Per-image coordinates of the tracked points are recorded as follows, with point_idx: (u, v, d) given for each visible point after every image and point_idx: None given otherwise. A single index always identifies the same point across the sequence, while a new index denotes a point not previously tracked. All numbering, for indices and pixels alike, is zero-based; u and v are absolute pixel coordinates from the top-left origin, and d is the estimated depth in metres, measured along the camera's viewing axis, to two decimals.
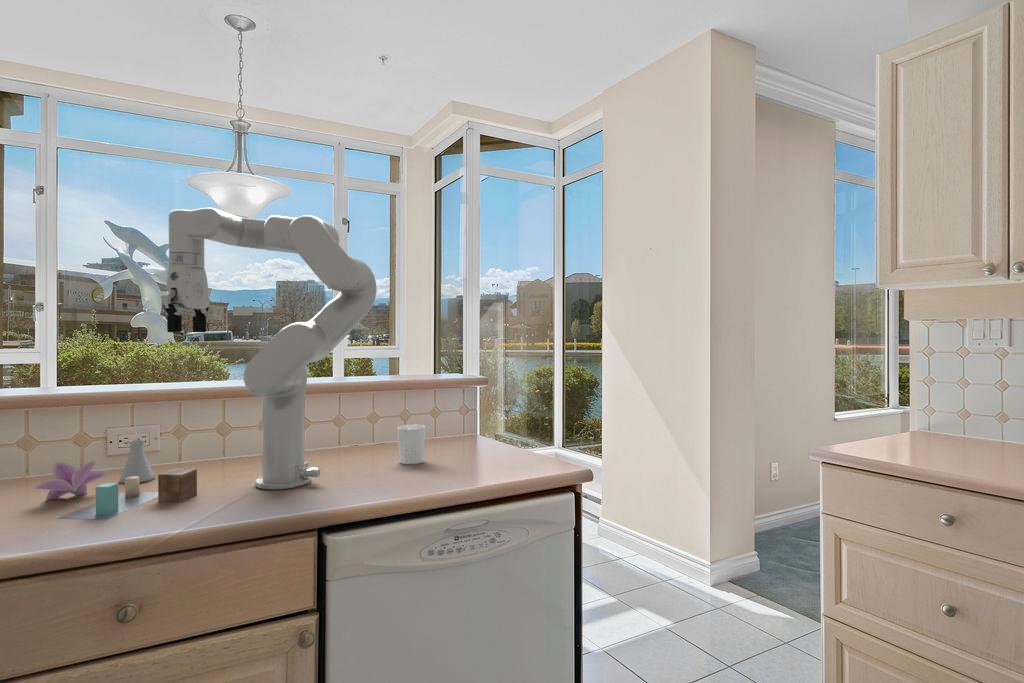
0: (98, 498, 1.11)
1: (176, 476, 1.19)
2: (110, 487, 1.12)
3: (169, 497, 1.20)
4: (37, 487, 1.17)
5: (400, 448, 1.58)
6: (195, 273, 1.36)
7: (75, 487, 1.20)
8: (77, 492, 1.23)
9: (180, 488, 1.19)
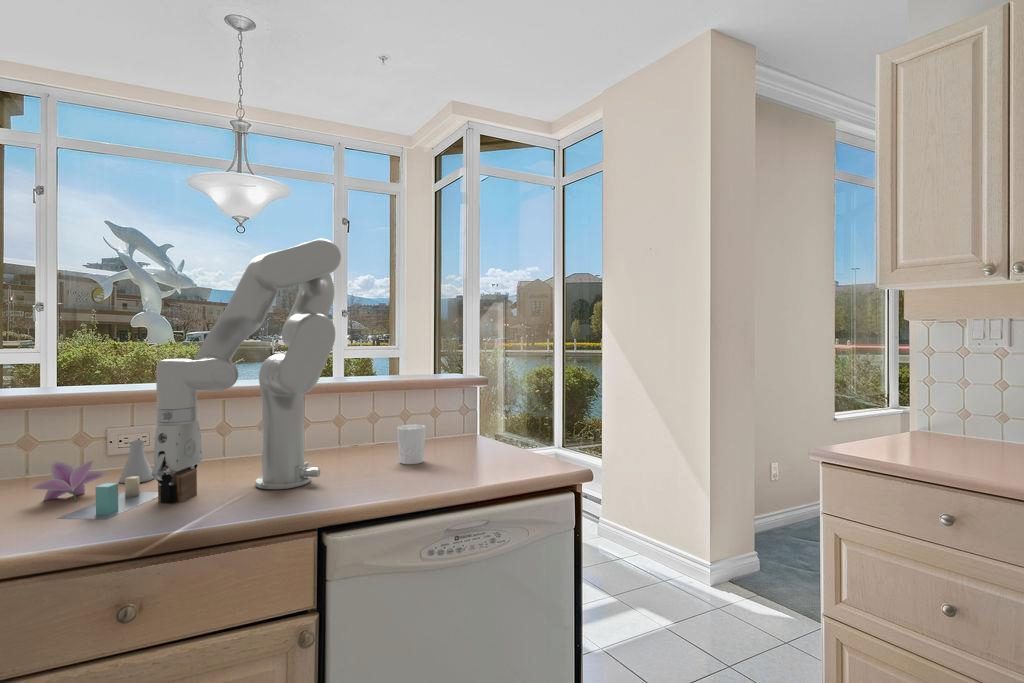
0: (98, 498, 1.11)
1: (176, 476, 1.19)
2: (110, 487, 1.12)
3: None
4: (35, 487, 1.17)
5: (400, 448, 1.58)
6: (186, 429, 1.21)
7: (73, 487, 1.20)
8: (75, 492, 1.23)
9: (180, 488, 1.19)
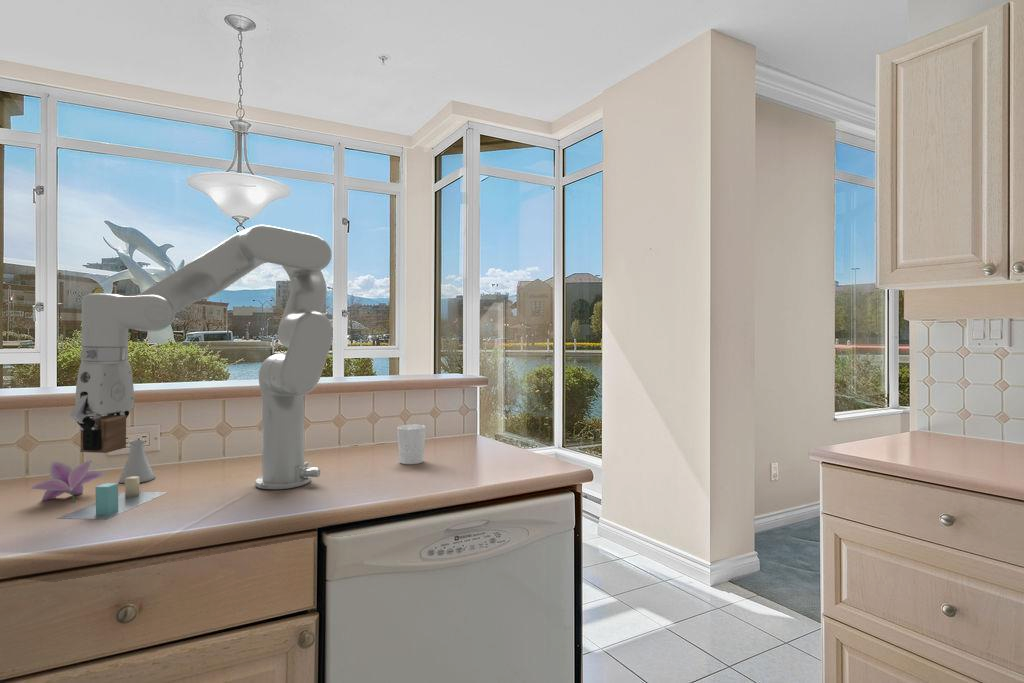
0: (98, 498, 1.11)
1: (100, 420, 1.09)
2: (110, 487, 1.12)
3: None
4: (34, 487, 1.17)
5: (400, 448, 1.58)
6: (114, 370, 1.11)
7: (72, 487, 1.20)
8: (73, 492, 1.23)
9: (104, 433, 1.09)
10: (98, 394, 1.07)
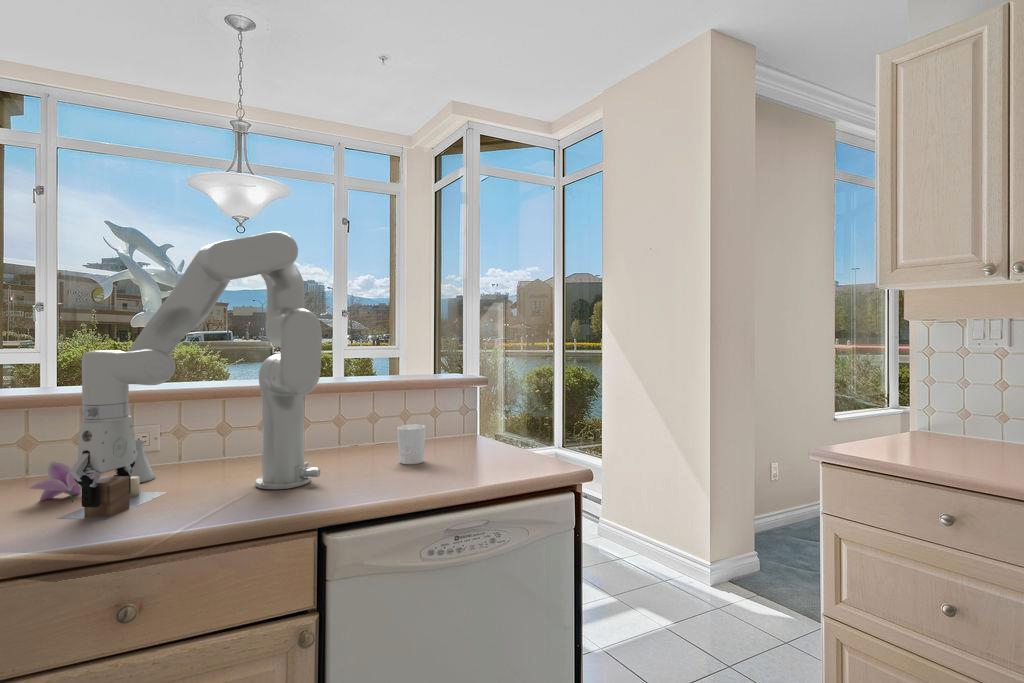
0: None
1: (103, 484, 1.10)
2: None
3: (96, 507, 1.10)
4: (32, 487, 1.17)
5: (400, 448, 1.58)
6: (115, 427, 1.11)
7: (70, 487, 1.20)
8: (71, 492, 1.24)
9: (108, 498, 1.10)
10: (100, 453, 1.08)
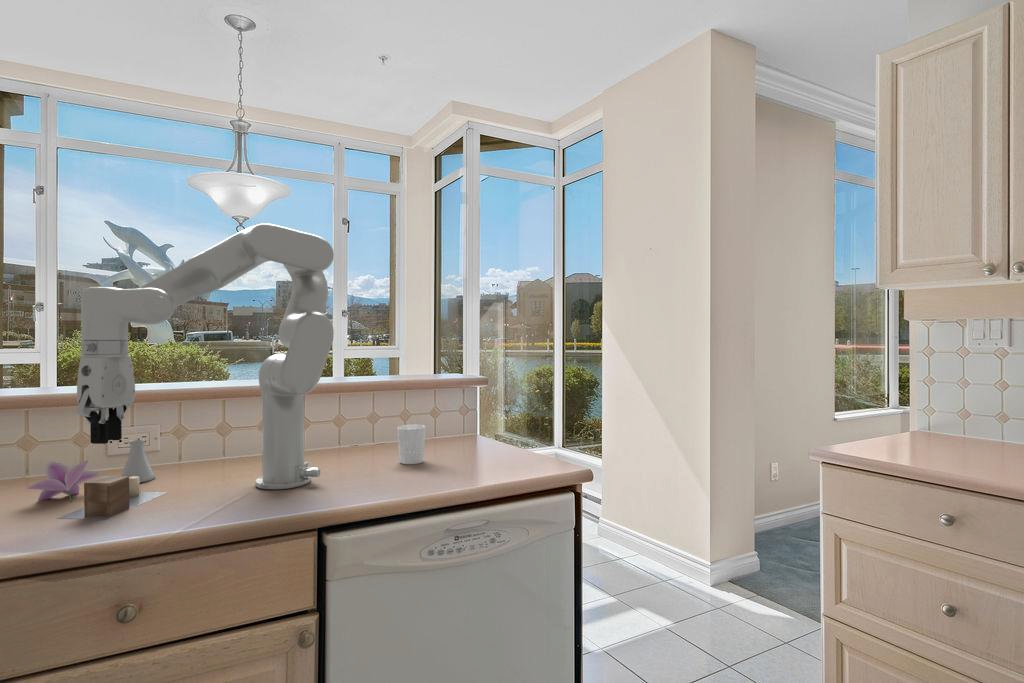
0: None
1: (103, 484, 1.10)
2: None
3: (96, 507, 1.10)
4: (30, 487, 1.17)
5: (400, 448, 1.58)
6: (115, 363, 1.11)
7: (68, 487, 1.20)
8: (69, 492, 1.24)
9: (108, 498, 1.10)
10: (99, 387, 1.07)
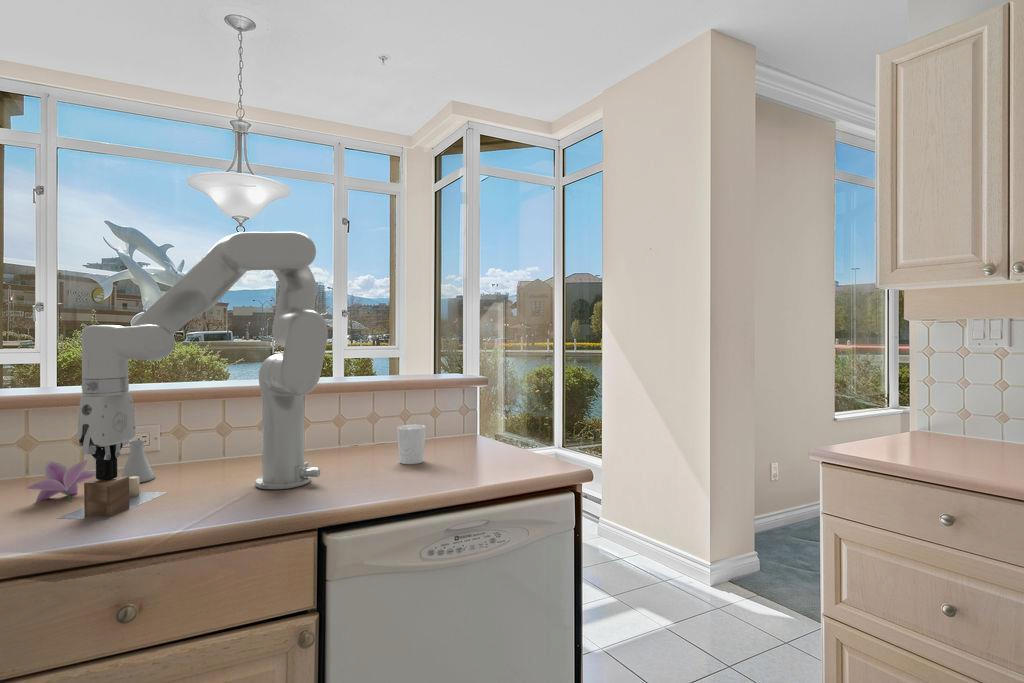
0: None
1: (103, 484, 1.10)
2: None
3: (96, 507, 1.10)
4: (29, 487, 1.16)
5: (400, 448, 1.58)
6: (115, 401, 1.11)
7: (67, 487, 1.20)
8: (68, 492, 1.24)
9: (108, 498, 1.10)
10: (100, 426, 1.07)
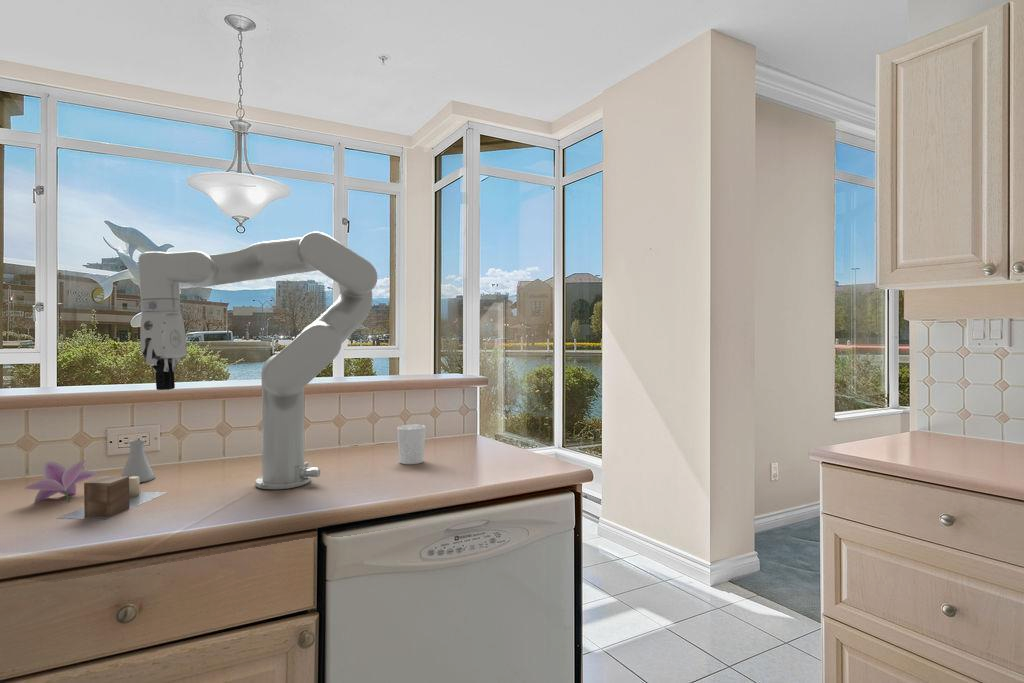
0: None
1: (103, 484, 1.10)
2: None
3: (96, 507, 1.10)
4: (27, 487, 1.16)
5: (400, 448, 1.58)
6: (171, 320, 1.25)
7: (66, 487, 1.20)
8: (66, 492, 1.24)
9: (108, 498, 1.10)
10: (161, 340, 1.22)
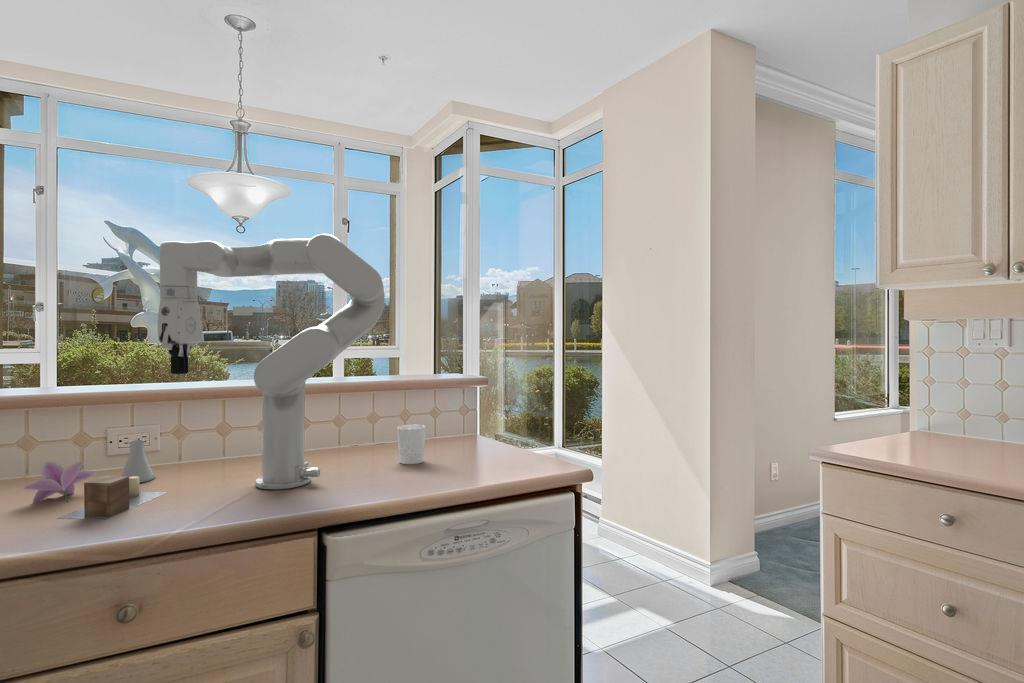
0: None
1: (103, 484, 1.10)
2: None
3: (96, 507, 1.10)
4: (26, 487, 1.16)
5: (400, 448, 1.58)
6: (187, 307, 1.30)
7: (64, 487, 1.20)
8: (65, 492, 1.24)
9: (108, 498, 1.10)
10: (176, 325, 1.27)
